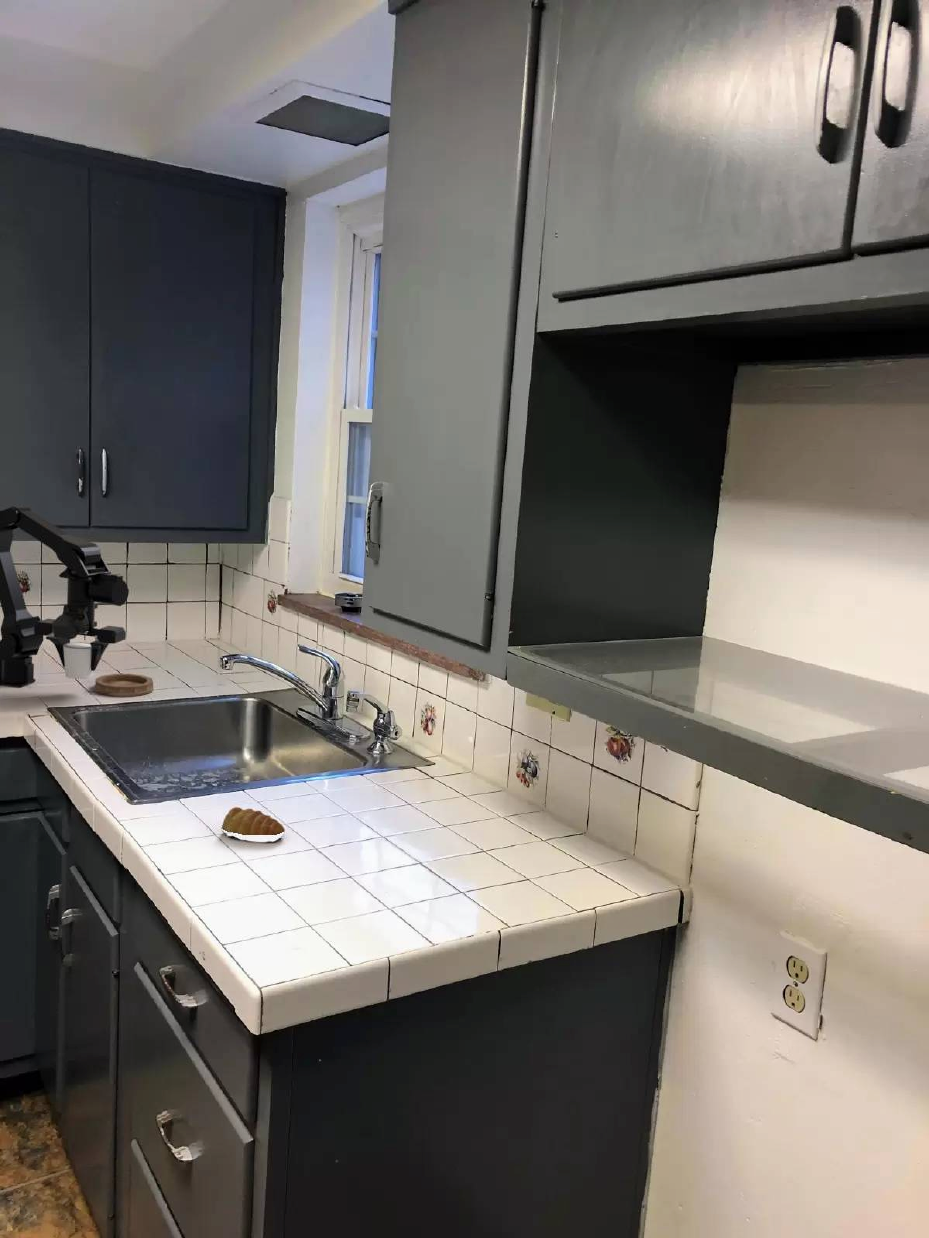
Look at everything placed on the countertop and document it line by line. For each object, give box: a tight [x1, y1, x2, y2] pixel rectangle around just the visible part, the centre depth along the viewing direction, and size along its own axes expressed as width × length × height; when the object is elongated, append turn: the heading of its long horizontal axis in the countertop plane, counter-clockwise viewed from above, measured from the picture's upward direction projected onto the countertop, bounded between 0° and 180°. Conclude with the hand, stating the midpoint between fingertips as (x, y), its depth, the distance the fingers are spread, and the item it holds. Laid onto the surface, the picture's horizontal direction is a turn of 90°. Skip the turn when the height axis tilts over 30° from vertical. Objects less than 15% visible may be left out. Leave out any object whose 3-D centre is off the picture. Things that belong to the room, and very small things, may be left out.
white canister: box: [63, 641, 94, 680], centre depth 218 cm, size 7×7×7 cm
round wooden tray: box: [93, 673, 155, 698], centre depth 227 cm, size 13×13×2 cm
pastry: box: [221, 806, 285, 835], centre depth 152 cm, size 9×7×4 cm
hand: (79, 668), depth 218 cm, fingers closed on white canister, 6 cm apart
